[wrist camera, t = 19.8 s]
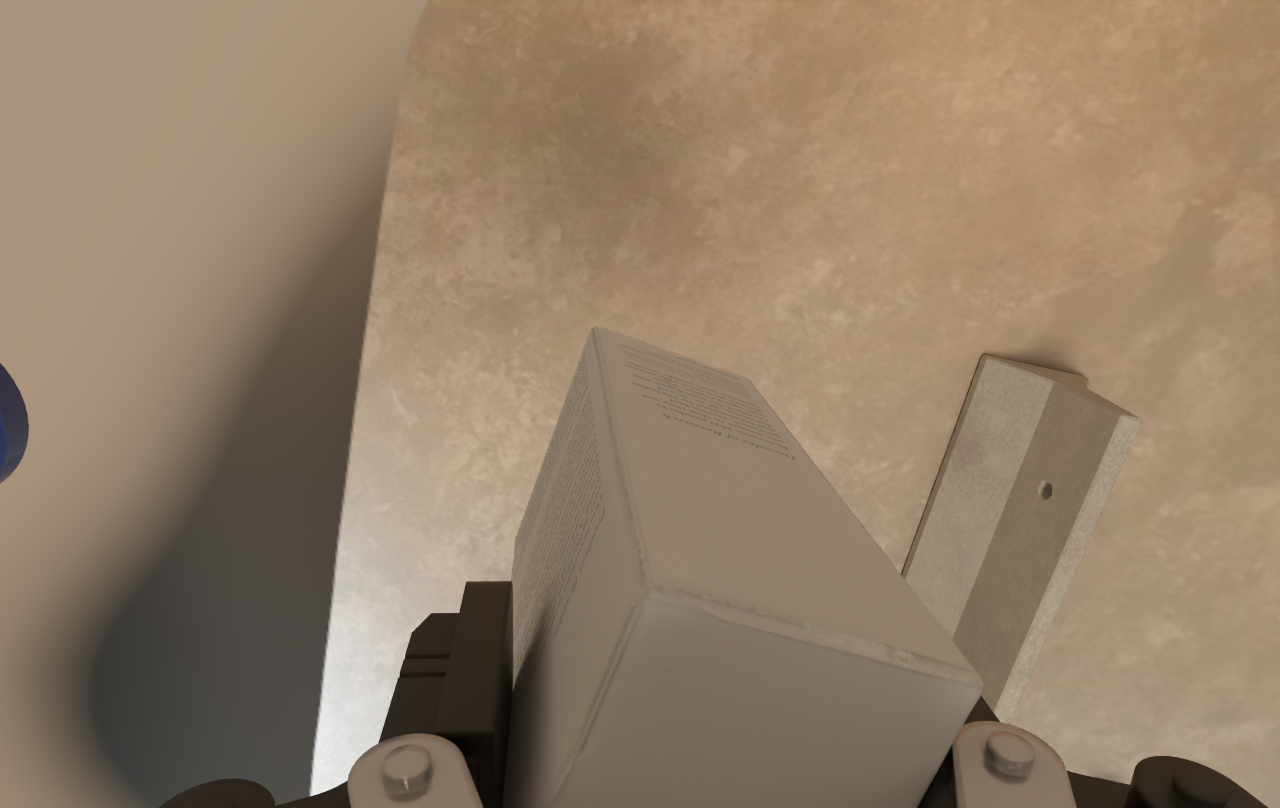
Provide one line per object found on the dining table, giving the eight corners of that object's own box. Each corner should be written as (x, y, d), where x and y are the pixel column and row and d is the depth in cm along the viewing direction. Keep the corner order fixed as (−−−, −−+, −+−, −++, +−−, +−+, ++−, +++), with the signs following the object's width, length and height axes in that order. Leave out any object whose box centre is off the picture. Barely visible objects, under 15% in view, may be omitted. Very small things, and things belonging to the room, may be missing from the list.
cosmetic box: (669, 581, 22) (781, 1077, 10) (513, 537, 21) (449, 1020, 10) (758, 371, 20) (1007, 688, 9) (592, 314, 19) (628, 581, 8)
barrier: (981, 353, 52) (1072, 404, 43) (1083, 375, 53) (1193, 430, 44) (849, 714, 60) (901, 823, 51) (940, 727, 61) (1006, 836, 52)
